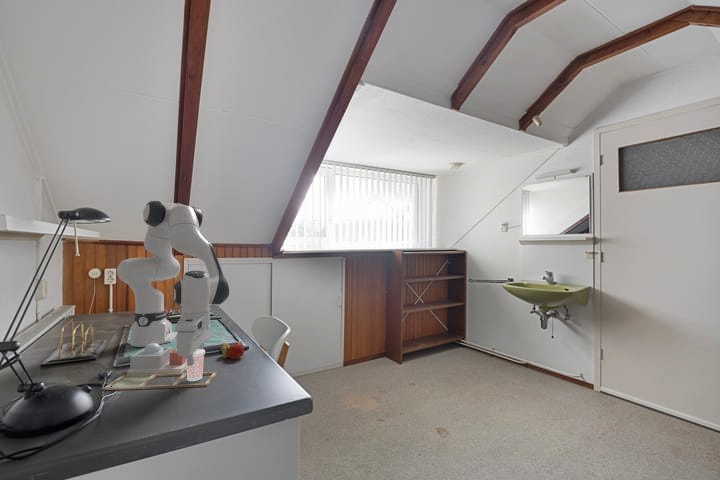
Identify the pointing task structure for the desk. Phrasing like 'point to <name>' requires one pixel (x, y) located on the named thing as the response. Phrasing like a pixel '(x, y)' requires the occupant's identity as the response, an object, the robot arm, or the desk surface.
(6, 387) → the desk surface
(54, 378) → the desk surface
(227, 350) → the kendama
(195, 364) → the beverage cup
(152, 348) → the dome
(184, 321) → the robot arm
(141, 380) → the wooden window frame
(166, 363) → the dome housing
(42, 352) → the desk surface
